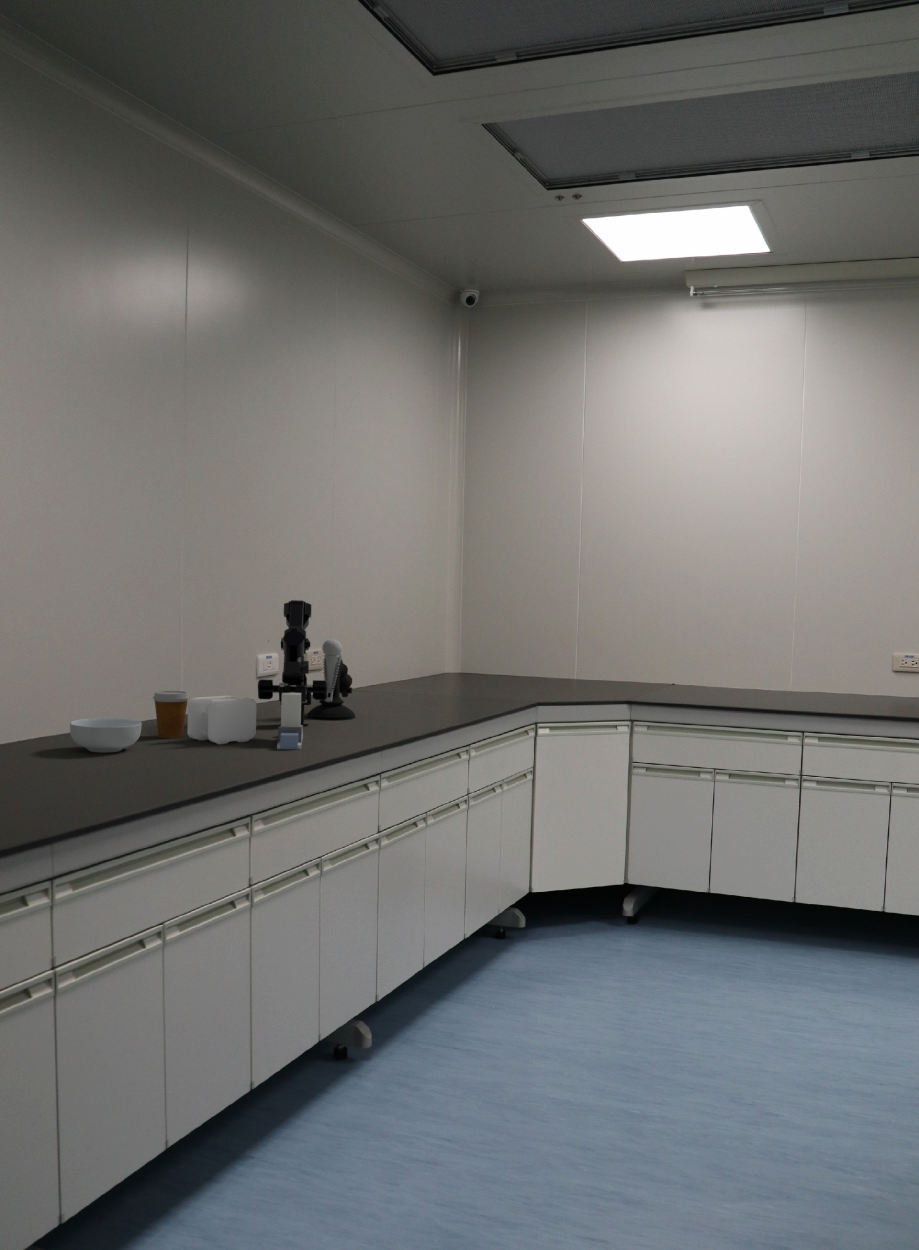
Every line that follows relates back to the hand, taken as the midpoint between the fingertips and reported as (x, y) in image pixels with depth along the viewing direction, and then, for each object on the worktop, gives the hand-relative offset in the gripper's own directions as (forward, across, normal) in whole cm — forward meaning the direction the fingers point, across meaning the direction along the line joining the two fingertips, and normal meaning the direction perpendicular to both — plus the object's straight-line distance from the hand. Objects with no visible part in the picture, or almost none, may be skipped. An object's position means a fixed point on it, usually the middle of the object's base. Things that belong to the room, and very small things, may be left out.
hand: (291, 713), depth 282 cm
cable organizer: (+6, -18, +5) cm, 20 cm away
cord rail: (+7, 0, +4) cm, 8 cm away
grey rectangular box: (+6, 0, +2) cm, 7 cm away
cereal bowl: (+18, -45, -7) cm, 49 cm away
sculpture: (-33, +12, +44) cm, 56 cm away
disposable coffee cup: (+1, -32, +9) cm, 34 cm away
